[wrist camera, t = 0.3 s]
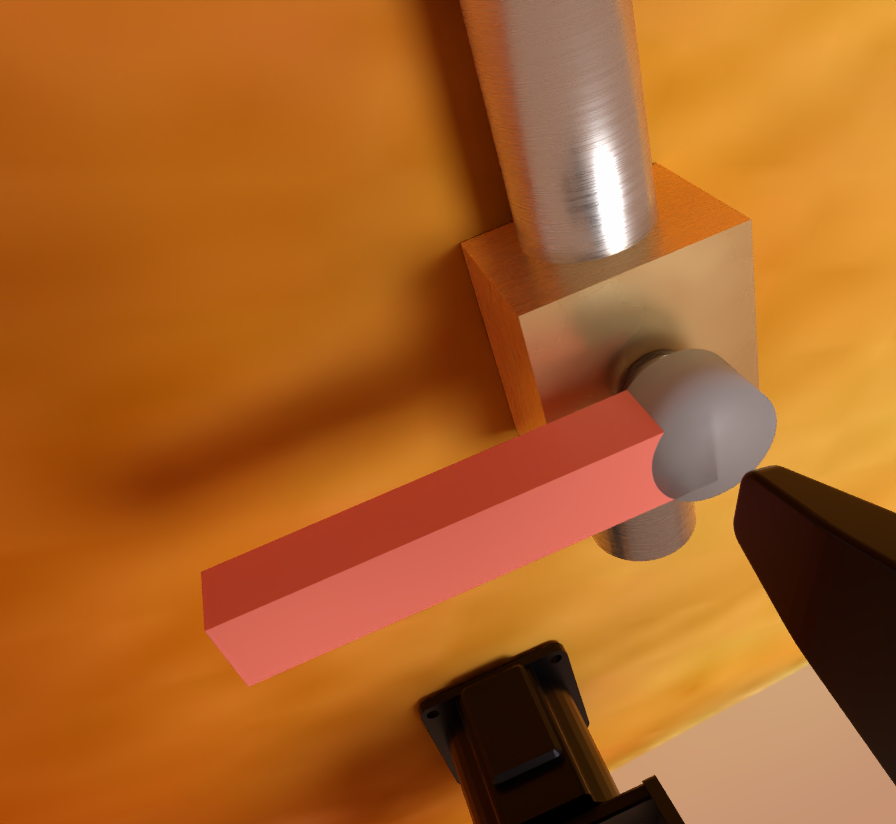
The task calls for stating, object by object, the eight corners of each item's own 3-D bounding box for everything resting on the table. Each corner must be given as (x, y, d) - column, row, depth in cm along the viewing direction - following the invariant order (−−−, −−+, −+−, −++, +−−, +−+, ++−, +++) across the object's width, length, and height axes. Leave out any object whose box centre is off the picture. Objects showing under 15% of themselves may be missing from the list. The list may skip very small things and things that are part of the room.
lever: (728, 329, 19) (775, 366, 18) (736, 427, 21) (778, 468, 20) (191, 558, 18) (193, 617, 17) (250, 639, 20) (257, 698, 19)
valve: (692, 455, 29) (780, 554, 25) (543, 520, 29) (608, 631, 25) (612, -208, 17) (759, -230, 13) (354, -111, 17) (419, -103, 13)
